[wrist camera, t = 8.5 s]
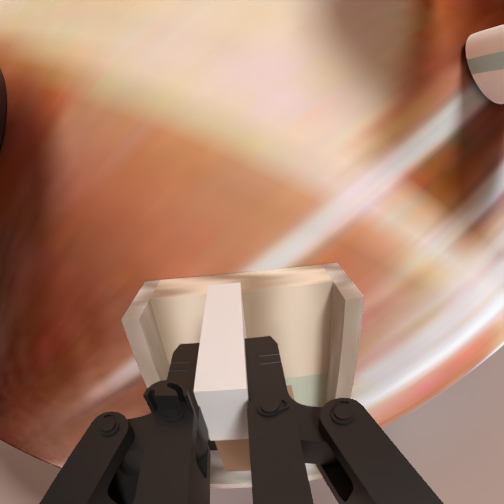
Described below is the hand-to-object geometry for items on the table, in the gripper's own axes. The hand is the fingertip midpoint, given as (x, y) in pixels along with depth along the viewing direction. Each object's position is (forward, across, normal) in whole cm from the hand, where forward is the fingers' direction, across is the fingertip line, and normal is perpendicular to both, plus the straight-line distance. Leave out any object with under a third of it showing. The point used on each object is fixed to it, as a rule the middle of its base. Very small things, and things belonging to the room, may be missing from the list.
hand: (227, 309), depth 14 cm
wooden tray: (+7, +1, -13) cm, 14 cm away
